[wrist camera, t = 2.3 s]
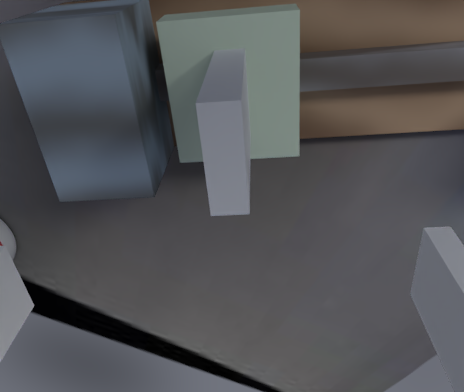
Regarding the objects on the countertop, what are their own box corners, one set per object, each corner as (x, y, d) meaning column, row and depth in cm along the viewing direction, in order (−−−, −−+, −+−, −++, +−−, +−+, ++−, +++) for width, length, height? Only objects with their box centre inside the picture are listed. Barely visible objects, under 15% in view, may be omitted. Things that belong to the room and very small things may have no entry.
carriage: (169, 10, 30) (106, 62, 17) (293, -1, 29) (324, 45, 16) (188, 136, 35) (151, 248, 22) (293, 129, 34) (318, 242, 21)
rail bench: (64, 2, 31) (-32, 33, 21) (781, -63, 27) (1114, -66, 17) (103, 143, 38) (44, 222, 27) (690, 108, 34) (890, 184, 23)
